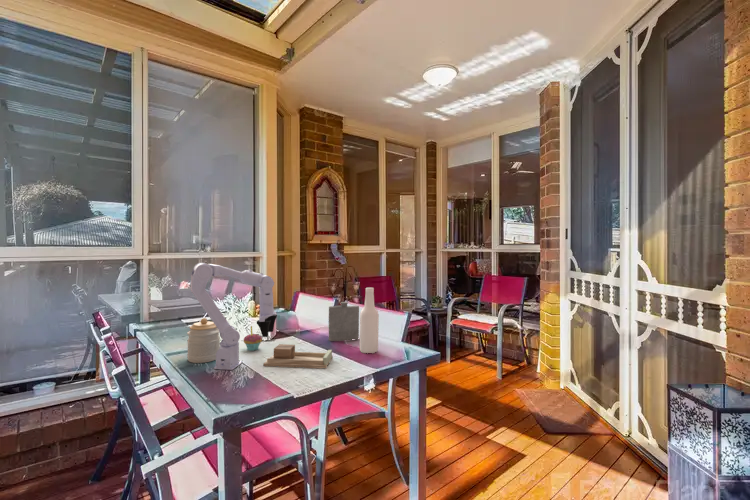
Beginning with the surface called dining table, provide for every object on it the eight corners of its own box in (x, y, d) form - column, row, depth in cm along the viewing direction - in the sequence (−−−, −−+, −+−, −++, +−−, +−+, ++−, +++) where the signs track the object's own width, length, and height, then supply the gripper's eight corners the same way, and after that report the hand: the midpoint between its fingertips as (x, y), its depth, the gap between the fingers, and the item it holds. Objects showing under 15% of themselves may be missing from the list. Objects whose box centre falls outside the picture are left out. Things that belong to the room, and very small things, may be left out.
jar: (207, 364, 152) (207, 322, 152) (180, 362, 155) (180, 320, 154) (226, 355, 165) (226, 316, 164) (200, 353, 167) (200, 314, 167)
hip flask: (358, 338, 197) (358, 300, 196) (359, 340, 193) (359, 302, 192) (328, 339, 193) (328, 301, 193) (329, 341, 189) (329, 302, 189)
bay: (325, 368, 149) (325, 358, 149) (263, 365, 151) (263, 356, 151) (332, 357, 163) (332, 348, 163) (275, 355, 165) (275, 346, 165)
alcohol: (355, 350, 175) (356, 287, 174) (370, 347, 180) (371, 286, 179) (366, 355, 168) (367, 289, 167) (381, 351, 173) (382, 288, 172)
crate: (289, 361, 154) (289, 349, 154) (273, 360, 155) (273, 348, 154) (294, 356, 161) (294, 344, 161) (279, 355, 162) (279, 344, 161)
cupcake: (258, 352, 170) (258, 326, 170) (240, 351, 170) (240, 325, 170) (264, 346, 179) (264, 322, 178) (247, 346, 179) (247, 321, 179)
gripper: (270, 306, 151) (272, 338, 152) (280, 299, 166) (281, 329, 167) (253, 306, 152) (255, 339, 152) (264, 300, 166) (266, 329, 167)
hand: (267, 334), depth 159 cm, fingers open, 7 cm apart
